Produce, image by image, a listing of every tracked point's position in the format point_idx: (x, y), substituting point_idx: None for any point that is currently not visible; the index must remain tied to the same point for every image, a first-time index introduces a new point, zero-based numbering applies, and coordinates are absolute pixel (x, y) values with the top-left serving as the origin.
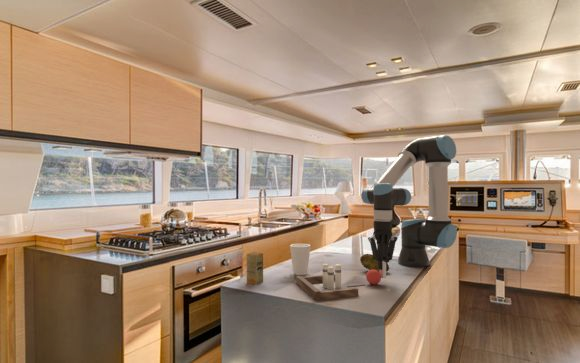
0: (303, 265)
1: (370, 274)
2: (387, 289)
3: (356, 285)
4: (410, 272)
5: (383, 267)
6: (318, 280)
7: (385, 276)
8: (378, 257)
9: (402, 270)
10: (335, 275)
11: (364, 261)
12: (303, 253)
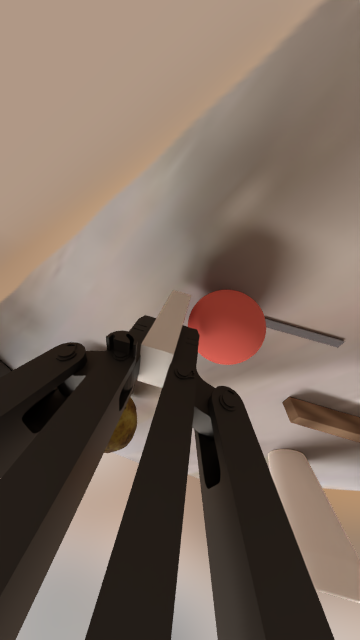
0: (311, 485)
1: (264, 332)
2: (243, 211)
3: (300, 332)
4: (14, 326)
5: (178, 325)
6: (349, 419)
7: (175, 294)
8: (220, 422)
9: (32, 349)
10: None
11: (131, 425)
12: (343, 551)
